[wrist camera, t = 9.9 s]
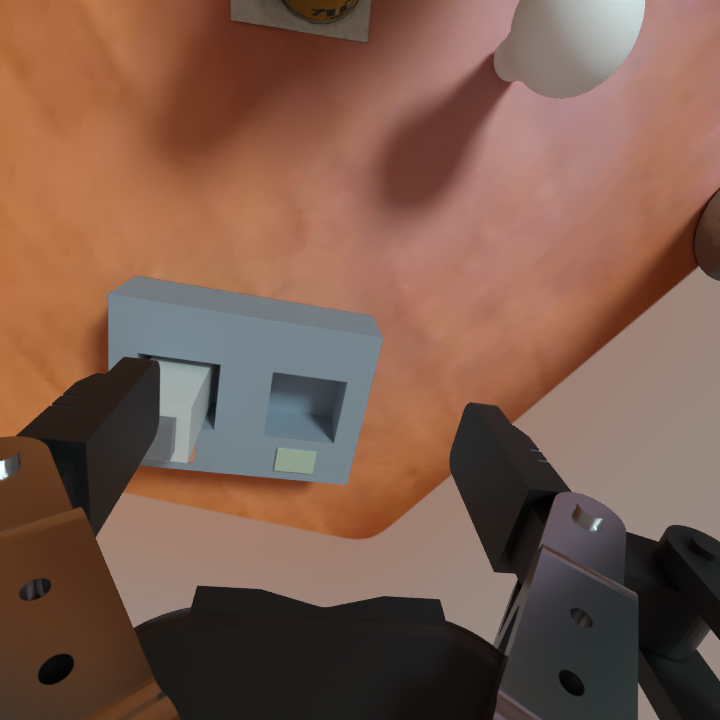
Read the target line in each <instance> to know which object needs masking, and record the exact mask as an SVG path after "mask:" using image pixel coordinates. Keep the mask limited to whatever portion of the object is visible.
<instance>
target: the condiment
mask: <svg viewBox="0 0 720 720" xmlns="http://www.w3.org/2000/svg"><path fill="white" fill-rule="evenodd" d="M371 1H372V0H231V20H233V21H239V22H246V23H251V24H257V25H265V26H271V27H276V28H283V29H288V30H294V31H299V32H304V33H310V34H316V35H323V36H328V37H334V38H340V39H347V40H353V41H359V42H368V33H369V23H370V12H371Z"/></svg>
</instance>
